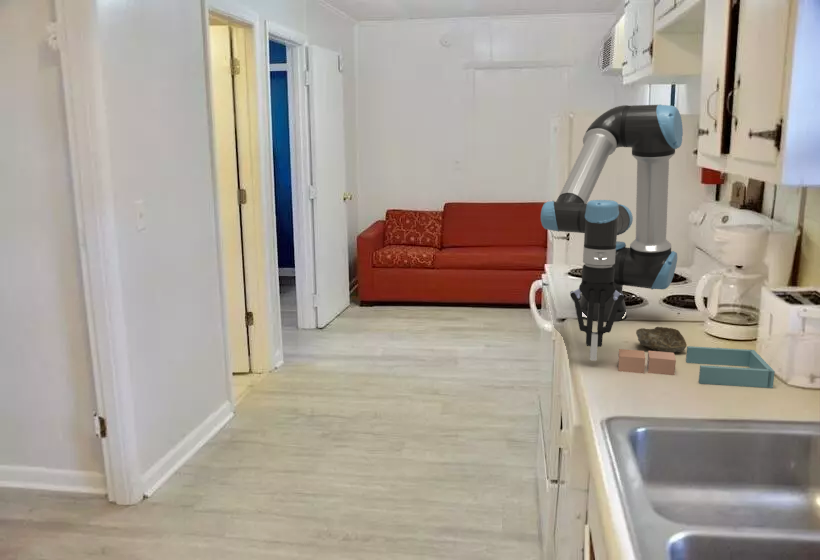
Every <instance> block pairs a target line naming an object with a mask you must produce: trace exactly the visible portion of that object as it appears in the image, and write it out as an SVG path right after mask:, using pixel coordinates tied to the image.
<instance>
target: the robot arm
mask: <svg viewBox="0 0 820 560" xmlns="http://www.w3.org/2000/svg"><path fill="white" fill-rule="evenodd" d="M682 121H683V120H682V114H681V113H680V111H679V109H678V108H677V107H676V106H674V105H667V104H643V105H642V104H640V105H636V104H635V105H626V104H623V105H617V106H615V107H613V108H609V110H607V111H605V112H603V113H602V114H601V115H599V116H598V117H596V118H595V120H594V121H593V122H592V123H591V124H590V125H589V126H588V128H587V129H586V131H585V134H584V135H583V136H582V143H583V144H582V145H583V146H582V148H581V150H580V152H579V154H578V156H577V158H576V160H575V163H574V165H573V166H572V169H571V171H570V172H569V175H568V177H567V179H566V181H565V182H564V185H563V187H562V189H561V191H560V193H559V196H558V197H557V199H556V201H555V200H551V201H546V202H544V203H543V205H542V207H541V210H540V222H541V223H540V224H541V226H542V227H543V229H545V230H548V231H553V232H561V233H562V232H565V233H566V232H567V233H579V234H583V235H584V238H583V239H584V240H583V254H582V263H583V265H582V271H581V272H582V273H581V283H580V284H579V286H578V288H577V289H576V290H571V291H570V292H569V295H570V298H571V299H572V301H573V302H574V307H575V312H576V317H577V322H578V327H579V330H580V332H585V333H586V334H585V344H586V347H589V360H590V361H597V359H598V357H597V356H598V347H599V348H601V347H602V346H603V337H604V336H603V335H605V334H607V333H610V332H611V331H612V328H613V325H614V322H615V321H617V322H619V321H622V320H621V319H622V317H623V316H624V314H625V312H626V309H627V306H626V303H625V296H624V294H623V286H626V287H635V288H641V289H642V288H643V289H650V290H666V289H668V288H669V287H670V285H671V283H672V281H673V278H674V275H675V271H676V268H677V264H678V263H677V262H678V253H677V252H676V251H675V250H672V243H671V242H670V241H668V239H667V227H668V226H667V225H668V223H667V222H668V202H669V201H668V200H669V199H668V196H669V195H668V194H669V175H670V174H669V171H670V170H669V169H670V167H669V166H670V159H671V158H673V156H674V155H675V154H676V150H678V149H679V148H680V147H681V146H682V143H683V134H684V133H683V131H684V129H683V128H684V127H683V122H682ZM617 148H631V156H632V157H633V158H634V159H635V160H636V164H637V165H636V197H635V199H636V201H635V202H636V203H635V205H636V206H635V210H636V212H635V213H636V214H635V239H634V240H632V242H631V243H630V244H629V247H627V245H626V242H625V241H618V240H617V239H618V238H617V237H618V236H619V235H622V234H624V233H626V232H627V231H628V230H629V229H630V228H631V226H632V225H633V221H634V218H633V217H634V216H633V214H632V211H631V210H630V208H629V207H628V206H626V205H624V204H621V203H619V202H617V201H615V200H611V199H609V200H608V199H593V200H590V197H591V195H592V193H593V191H594V188H595V187H596V184H597V181H598V180H599V177H600V176H601V173H602V171H603V169H604V166H605V165H606V162H607V160H608V159H609V156H610V155H612V154H613V153H614V152H615V151H616V150H617ZM581 294H582V295H581ZM582 312H583V313H584V314H585V315H586V316H587V319H586V325H585V324H584V318H583V317H582ZM593 319H594V320H593ZM597 320H598V321H597ZM593 321H597V325H596V326H597V327H596V331H593V323H594V322H593ZM604 322H606V323H605V325H604Z"/></svg>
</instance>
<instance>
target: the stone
mask: <svg viewBox="0 0 820 560" xmlns="http://www.w3.org/2000/svg"><path fill="white" fill-rule="evenodd" d="M635 334H636V336H637V340H638V342H639V344H640V345H641V346H644V347H645V348H649V349H652V351H659V352H671V353H674V354H675V353H682V352H684V351H685V349H687V346H688V344H687V342H686V340H685V338H684V336H683V335H682V333H681V331H679V330H678V329H676V328H673V327H664V326H656V327H654V328H643V327H642V328H638V329H636V332H635Z"/></svg>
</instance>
